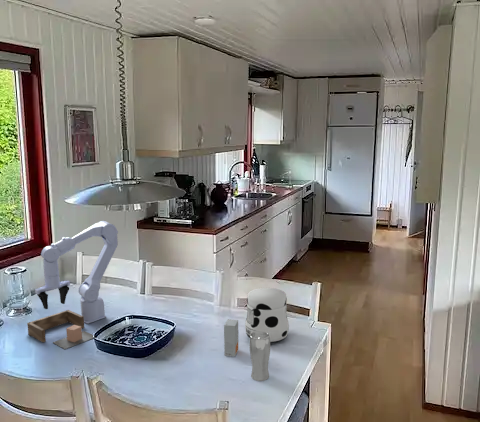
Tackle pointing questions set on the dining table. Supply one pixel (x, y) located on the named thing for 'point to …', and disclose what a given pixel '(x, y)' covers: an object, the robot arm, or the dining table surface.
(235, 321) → the skincare box
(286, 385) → the dining table surface
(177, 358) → the dining table surface
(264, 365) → the beer glass
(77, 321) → the open box
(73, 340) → the terracotta block
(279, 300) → the milk container
